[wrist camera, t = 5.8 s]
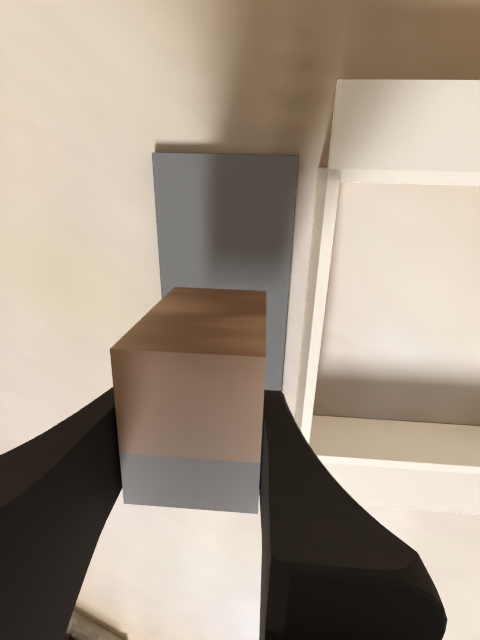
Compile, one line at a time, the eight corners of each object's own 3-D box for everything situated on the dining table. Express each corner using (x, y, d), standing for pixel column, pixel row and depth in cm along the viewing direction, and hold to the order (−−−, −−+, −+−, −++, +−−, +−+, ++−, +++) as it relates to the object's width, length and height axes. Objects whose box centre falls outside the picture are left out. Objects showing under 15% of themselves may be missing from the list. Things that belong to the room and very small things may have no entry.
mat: (298, 155, 18) (298, 155, 17) (278, 425, 24) (278, 429, 24) (154, 152, 18) (151, 152, 18) (171, 418, 24) (170, 422, 24)
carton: (634, 97, 16) (726, 81, 13) (492, 471, 24) (526, 518, 21) (325, 94, 17) (338, 79, 13) (291, 456, 25) (293, 500, 22)
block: (266, 290, 16) (266, 357, 9) (261, 393, 17) (257, 513, 11) (174, 286, 16) (109, 348, 10) (177, 389, 18) (123, 503, 11)
